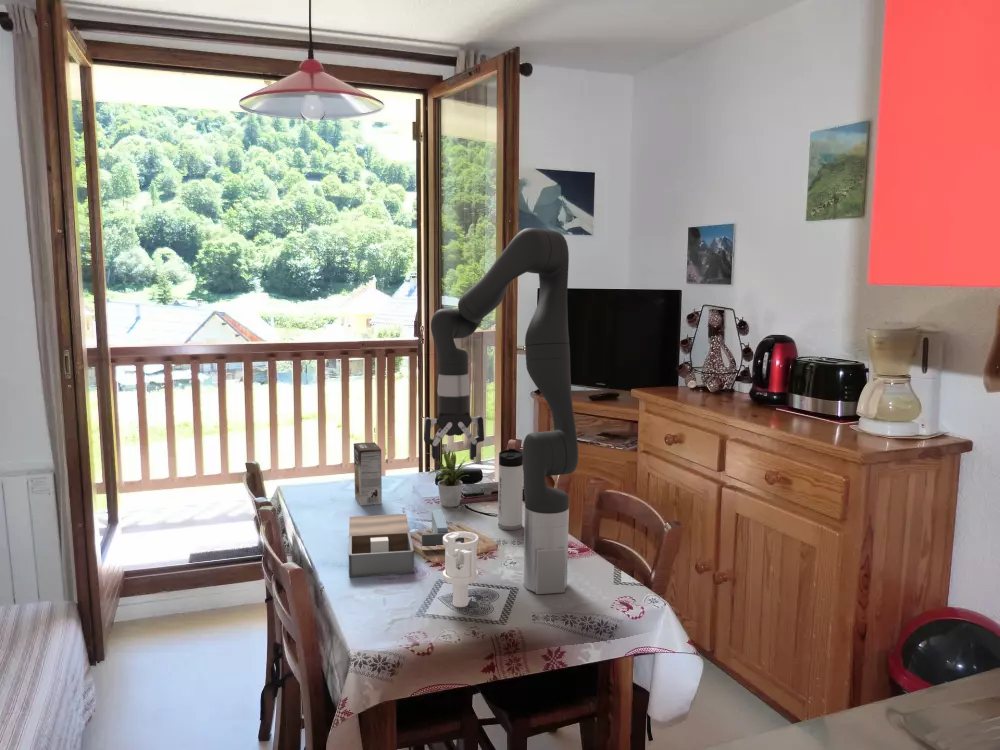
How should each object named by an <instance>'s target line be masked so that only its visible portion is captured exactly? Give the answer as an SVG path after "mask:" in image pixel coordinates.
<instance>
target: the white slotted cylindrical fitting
mask: <svg viewBox="0 0 1000 750" xmlns="http://www.w3.org/2000/svg"><path fill="white" fill-rule="evenodd" d="M459 531H460V532H451V533H448V534H446V535H444V536H443V545H444V546H445V550H444V570H443V571H442V580H443V581H444V582H445V583H447V584H451V585H452V605H453V606H454V607H456V608H464V607H467V606H468V605H469V584H473V583H476V582H477V581H478V579H479V571H478V569H477V565H478V562H477V560H478V559H477V552H478V551H477V549H478V548H477V546H478V545H479V535H478V534H476V533H474V532H469V531H464V532H462V531H463V530H459ZM460 537H463V538H464V539H471V541H468V542H464V543H461V542H455V539H457V538H460Z"/></svg>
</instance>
